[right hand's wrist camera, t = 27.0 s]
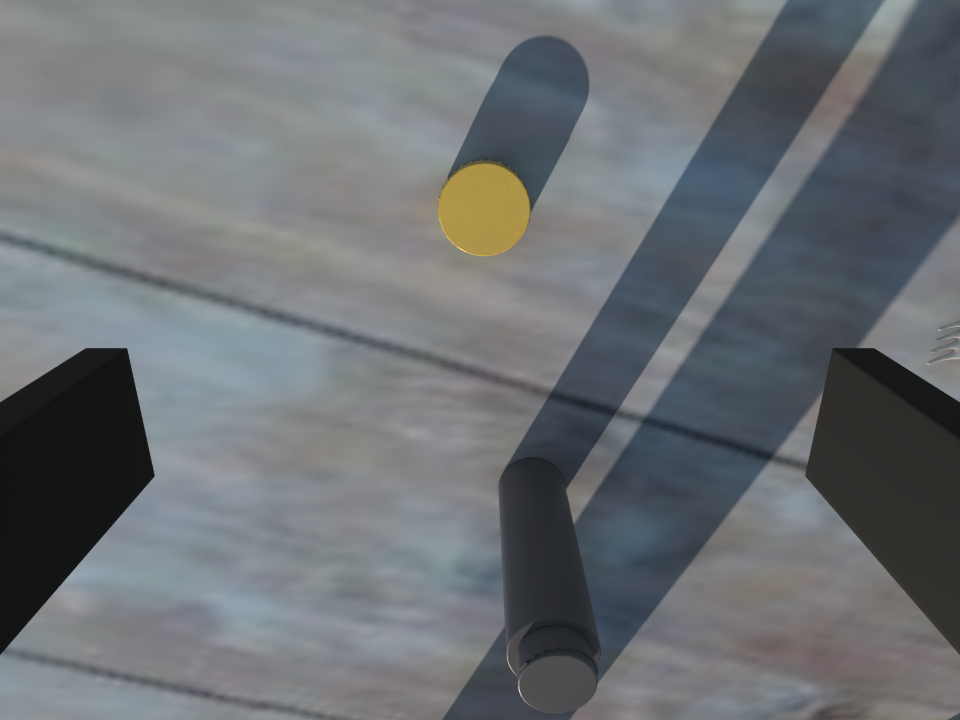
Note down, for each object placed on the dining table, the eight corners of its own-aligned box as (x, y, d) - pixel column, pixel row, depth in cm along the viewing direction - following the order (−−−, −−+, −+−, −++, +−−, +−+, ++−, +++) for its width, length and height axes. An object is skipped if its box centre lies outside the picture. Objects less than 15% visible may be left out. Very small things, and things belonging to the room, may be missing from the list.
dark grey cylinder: (577, 477, 44) (627, 673, 29) (539, 524, 45) (569, 734, 30) (522, 446, 43) (544, 632, 28) (485, 495, 44) (489, 696, 29)
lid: (449, 148, 36) (447, 151, 34) (539, 170, 36) (542, 174, 35) (431, 238, 38) (428, 245, 36) (516, 258, 38) (518, 266, 36)
